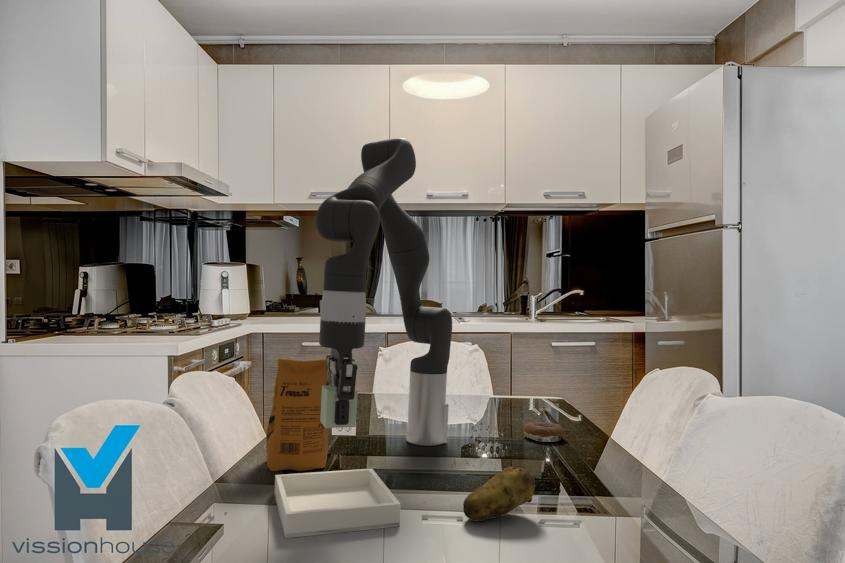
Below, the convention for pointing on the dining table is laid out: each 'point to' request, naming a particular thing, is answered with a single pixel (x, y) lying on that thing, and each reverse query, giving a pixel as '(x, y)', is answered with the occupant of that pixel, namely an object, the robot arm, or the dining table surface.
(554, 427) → the donut
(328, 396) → the green cube
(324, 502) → the bin
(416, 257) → the robot arm
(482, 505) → the potato
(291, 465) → the coffee package
